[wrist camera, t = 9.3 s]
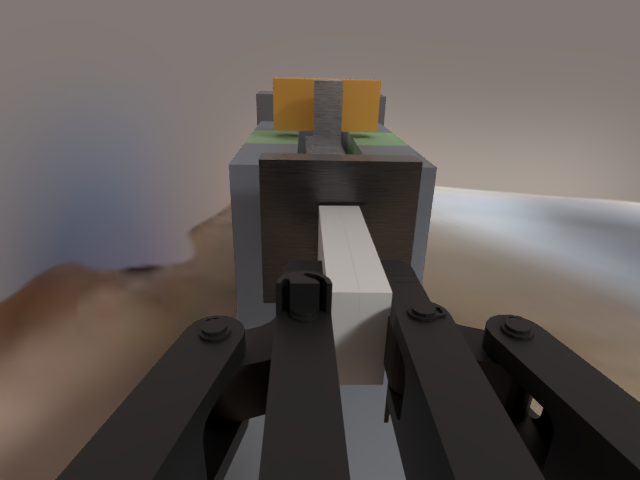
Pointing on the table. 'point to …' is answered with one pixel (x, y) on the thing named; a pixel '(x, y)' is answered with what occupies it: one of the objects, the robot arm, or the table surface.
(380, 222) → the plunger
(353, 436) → the grey stepped block
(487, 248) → the table surface
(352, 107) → the orange rectangular plank
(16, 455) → the table surface
